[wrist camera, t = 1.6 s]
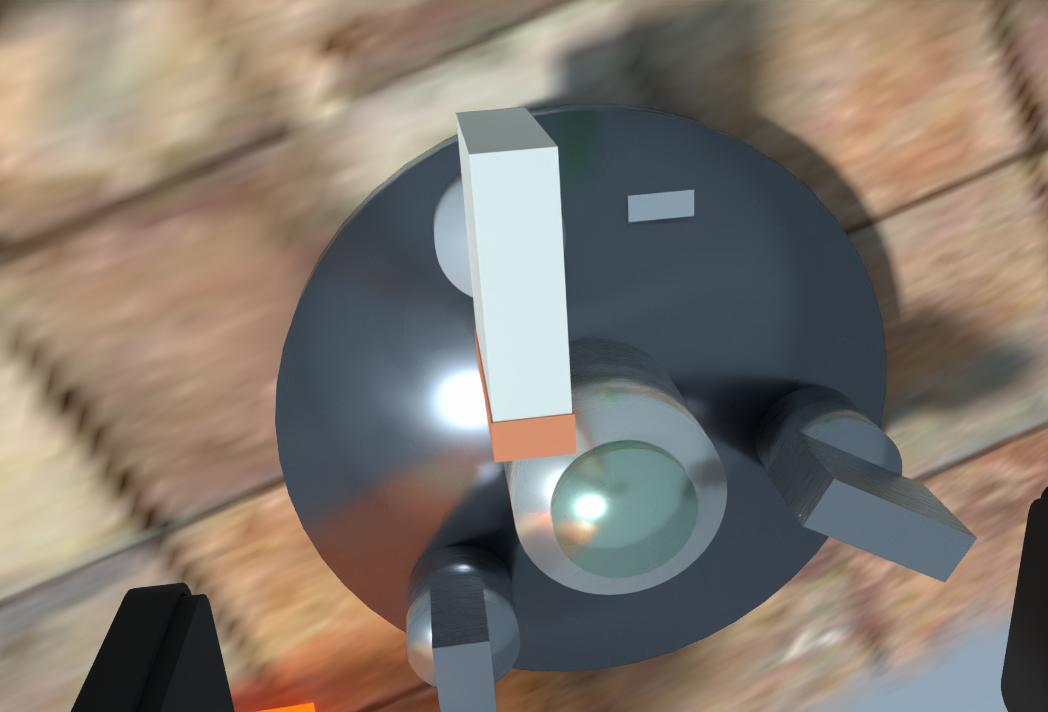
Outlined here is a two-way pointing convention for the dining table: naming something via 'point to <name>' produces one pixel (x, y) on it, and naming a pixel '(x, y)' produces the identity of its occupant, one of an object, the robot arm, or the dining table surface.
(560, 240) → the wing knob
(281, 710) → the orange juice
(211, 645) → the robot arm
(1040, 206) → the dining table surface
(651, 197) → the tribrach base
